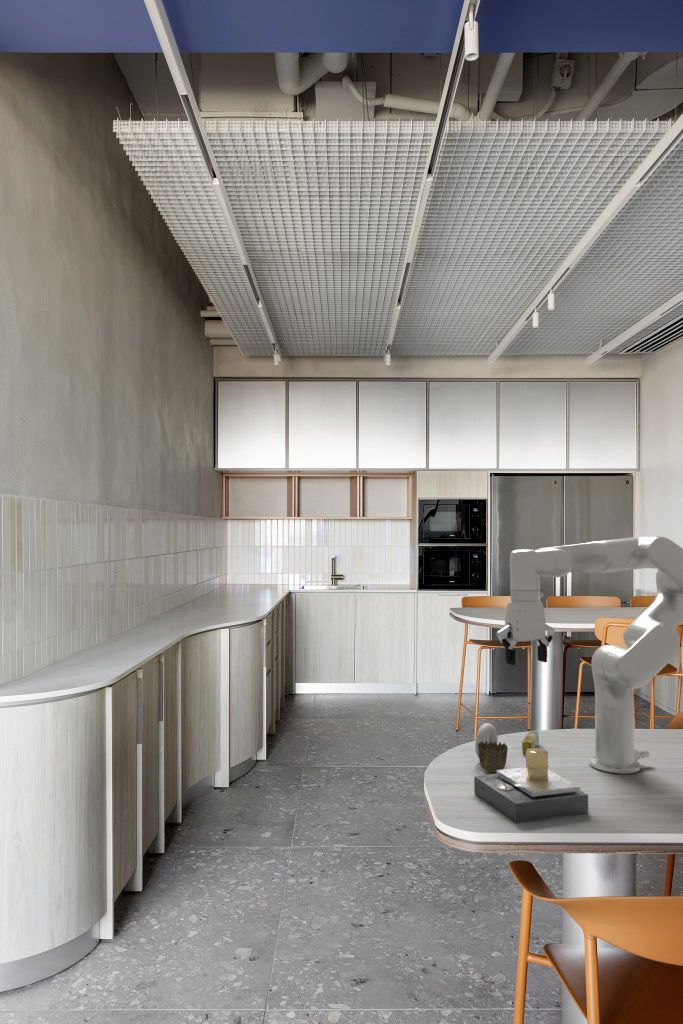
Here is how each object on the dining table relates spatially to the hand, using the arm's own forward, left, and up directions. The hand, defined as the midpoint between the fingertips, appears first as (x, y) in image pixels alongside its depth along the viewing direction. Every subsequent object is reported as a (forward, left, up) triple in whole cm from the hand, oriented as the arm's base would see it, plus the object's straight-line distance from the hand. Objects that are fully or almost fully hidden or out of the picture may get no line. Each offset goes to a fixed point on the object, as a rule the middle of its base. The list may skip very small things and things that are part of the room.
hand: (526, 662), depth 184 cm
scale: (+12, +20, -28) cm, 36 cm away
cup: (+11, +2, -28) cm, 30 cm away
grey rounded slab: (+6, -10, -28) cm, 30 cm away
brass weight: (+10, +20, -22) cm, 32 cm away
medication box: (-11, -15, -28) cm, 34 cm away
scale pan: (+10, +20, -23) cm, 33 cm away
